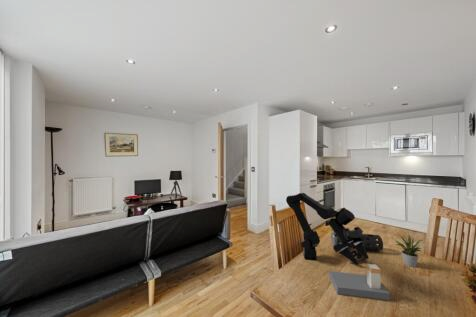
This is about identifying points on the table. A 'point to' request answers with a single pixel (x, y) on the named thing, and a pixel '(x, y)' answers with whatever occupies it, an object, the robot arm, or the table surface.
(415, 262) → the house plant
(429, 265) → the table surface
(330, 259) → the table surface
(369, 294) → the socket block
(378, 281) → the plug
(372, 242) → the muzzle brake
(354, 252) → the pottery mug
